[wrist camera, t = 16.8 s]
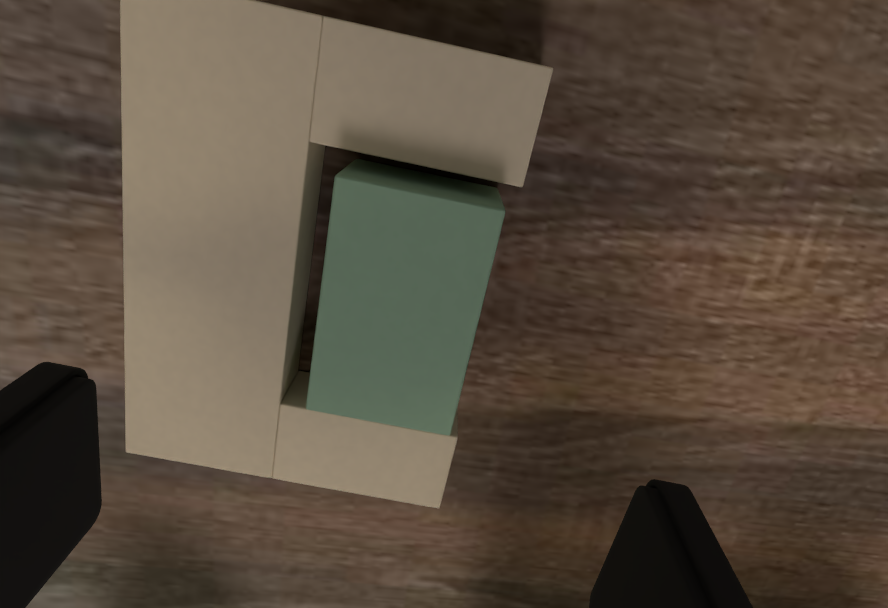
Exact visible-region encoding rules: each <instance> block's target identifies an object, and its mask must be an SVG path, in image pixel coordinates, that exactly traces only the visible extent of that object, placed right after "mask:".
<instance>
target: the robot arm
mask: <svg viewBox="0 0 888 608" xmlns="http://www.w3.org/2000/svg"><path fill="white" fill-rule="evenodd" d="M101 502H102V499H101V478H100V458H99V437H98V416H97V396H96V385H95V382H94V381H93V380H91V379H88V376H87V373H86V372H85V370H83V369H81V368H77V367H72V366H67V365H61V364H56V363H51V362H43V363H40V364H38V365H37V366H35V367H34V368H32V369H31V370H29V371H28V372H26V373H25V374H24V375H22V376H21V377H19V378H18V379H16V380H15V381H13V382H12V383H11V384H9V385H8V386H6V387H5V388H3V389H2V390H0V608H25V607H26V606H27V605H28V604H29V603H30V601H31V600H32V599H33V598H34V596H35V595H36V594H37V593H38V592H39V590H40V589H41V588H42V587H43V585H44V584H45V583H46V582H47V581H48V579H49V578H50V577H51V576H52V574H53V573H54V572H55V571H56V570H57V568H58V567H59V566H60V565H61V563H62V562H63V561H64V560H65V559H66V557H67V556H68V555H69V554H70V552H71V551H72V550H73V549H74V548H75V546H76V545H77V544H78V543H79V541H80V540H81V539H82V538H83V537H84V535H85V534H86V533H87V532H88V530H89V529H90V528H91V527H92V525H93V524H94V523H95V521H96V519H97V517H98V515H99V512H100V509H101ZM589 608H753V607H752V605H751V603H750V601H749V599H748V597H747V596H746V594H745V592H744V590H743V588H742V586H741V584H740V582H739V580H738V579H737V577H736V575H735V573H734V571H733V569H732V567H731V565H730V564H729V562H728V560H727V558H726V556H725V554H724V552H723V550H722V548H721V547H720V545H719V543H718V541H717V539H716V537H715V535H714V533H713V532H712V530H711V528H710V526H709V524H708V522H707V520H706V518H705V516H704V515H703V513H702V511H701V509H700V507H699V505H698V503H697V501H696V500H695V498H694V496H693V494H692V492H691V490H690V489H689V488H688V487H687V486H685V485H681V484H676V483H671V482H666V481H661V480H655V479H654V480H651V481H649V482H648V483H647V485H646V486H639V487H638V488H637V489H636V491H635V493H634V496H633V498H632V500H631V502H630V505H629V507H628V509H627V512H626V514H625V516H624V518H623V521H622V523H621V525H620V528H619V530H618V532H617V535H616V537H615V539H614V541H613V544H612V546H611V548H610V551H609V553H608V555H607V557H606V560H605V562H604V564H603V567H602V569H601V571H600V574H599V576H598V578H597V580H596V583H595V585H594V587H593V590H592V592H591V596H590V603H589Z"/></svg>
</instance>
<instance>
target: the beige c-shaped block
mask: <svg viewBox="0 0 888 608" xmlns="http://www.w3.org/2000/svg"><path fill="white" fill-rule="evenodd" d="M120 34H121V113H122V191H123V270H124V349H125V428H126V452H128V453H134V454H139V455H145V456H150V457H156V458H162V459H167V460H173V461H178V462H184V463H189V464H195V465H200V466H206V467H212V468H217V469H223V470H228V471H234V472H239V473H245V474H250V475H256V476H261V477H267V478H272V477H273V478H274V479H279V480H284V481H290V482H295V483H301V484H306V485H312V486H317V487H323V488H329V489H334V490H340V491H345V492H351V493H356V494H362V495H367V496H373V497H379V498H384V499H390V500H395V501H401V502H406V503H412V504H417V505H423V506H429V507H434V508H439V507H440V504H441V500H442V497H443V493H444V489H445V485H446V481H447V477H448V473H449V470H450V466H451V462H452V458H453V454H454V450H455V446H456V442H457V439H458V406H457V410H456V414H455V418H454V423H453V427H452V431H451V434H450V435H443V434H437V433H432V432H426V431H421V430H415V429H410V428H405V427H399V426H394V425H388V424H383V423H377V422H372V421H366V420H361V419H356V418H350V417H345V416H339V415H334V414H328V413H323V412H318V411H312V410H307V409H306V401H307V393H308V385H309V377H310V373H308V372H303V371H298V367H299V359H300V351H301V342H302V334H303V326H304V318H305V310H306V301H307V293H308V285H309V277H310V268H311V260H312V252H313V244H314V236H315V227H316V219H317V211H318V203H319V194H320V186H321V178H322V170H323V162H324V153H325V145H326V146H331V147H336V148H340V149H345V150H350V151H354V152H359V153H364V154H368V155H373V156H378V157H382V158H387V159H392V160H397V161H401V162H406V163H411V164H415V165H420V166H425V167H429V168H434V169H439V170H443V171H448V172H453V173H457V174H462V175H467V176H471V177H476V178H481V179H485V180H490V181H495V182H499V183H504V184H509V185H513V186H518V187H523V184H524V180H525V176H526V173H527V169H528V165H529V161H530V157H531V153H532V149H533V146H534V142H535V138H536V134H537V130H538V126H539V122H540V118H541V115H542V111H543V107H544V103H545V99H546V95H547V91H548V88H549V84H550V80H551V76H552V72H553V68H552V67H548V66H544V65H539V64H535V63H530V62H526V61H522V60H517V59H513V58H508V57H504V56H499V55H495V54H491V53H486V52H482V51H477V50H473V49H469V48H464V47H460V46H455V45H451V44H446V43H442V42H438V41H433V40H429V39H424V38H420V37H416V36H411V35H407V34H402V33H398V32H393V31H389V30H385V29H380V28H376V27H371V26H367V25H363V24H358V23H354V22H349V21H345V20H341V19H336V18H332V17H327V16H322V15H318V14H314V13H309V12H305V11H301V10H296V9H292V8H287V7H283V6H279V5H274V4H270V3H265V2H261V1H257V0H120Z"/></svg>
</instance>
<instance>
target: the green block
mask: <svg viewBox="0 0 888 608" xmlns="http://www.w3.org/2000/svg"><path fill="white" fill-rule="evenodd" d="M504 216H505V208H504V205H503V203H502V200H501V197H500V194H499V191H498V189H497V188H495V187H491V186H486V185H481V184H476V183H471V182H467V181H462V180H457V179H452V178H447V177H443V176H438V175H433V174H428V173H423V172H419V171H414V170H409V169H404V168H399V167H395V166H390V165H385V164H380V163H375V162H371V161H366V160H361V159H356V160H354V161H353V162H352V163H350V164H349V165H348V166H347V167H345V168H344V169H343V170H342V171H340V172H339V173H338V174H337V175H336V176H335V179H334V187H333V195H332V202H331V210H330V218H329V226H328V234H327V242H326V250H325V258H324V266H323V274H322V282H321V290H320V298H319V306H318V314H317V322H316V330H315V338H314V346H313V354H312V361H311V369H310V377H309V385H308V393H307V401H306V409H307V410H312V411H318V412H323V413H328V414H334V415H339V416H345V417H350V418H356V419H361V420H366V421H372V422H377V423H383V424H388V425H394V426H399V427H405V428H410V429H415V430H421V431H426V432H432V433H437V434H443V435H450V434H451V431H452V427H453V423H454V418H455V414H456V410H457V406H458V402H459V398H460V394H461V390H462V386H463V382H464V378H465V374H466V370H467V366H468V362H469V358H470V354H471V350H472V346H473V342H474V338H475V333H476V329H477V325H478V321H479V317H480V313H481V309H482V305H483V301H484V297H485V293H486V289H487V285H488V281H489V277H490V273H491V269H492V265H493V261H494V257H495V253H496V248H497V244H498V240H499V236H500V232H501V228H502V224H503V220H504Z"/></svg>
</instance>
